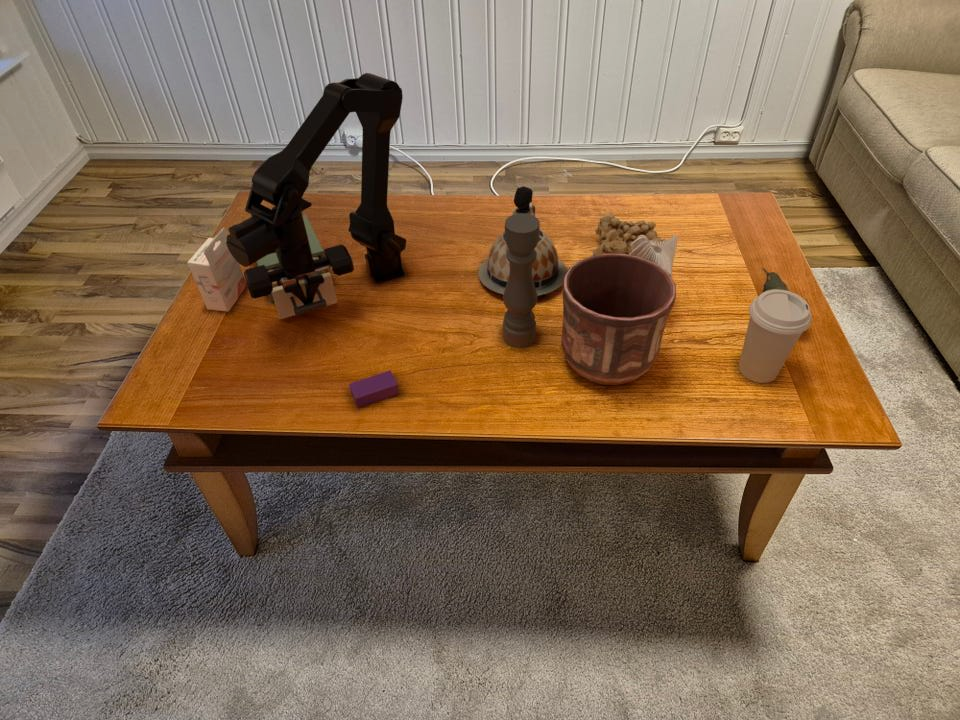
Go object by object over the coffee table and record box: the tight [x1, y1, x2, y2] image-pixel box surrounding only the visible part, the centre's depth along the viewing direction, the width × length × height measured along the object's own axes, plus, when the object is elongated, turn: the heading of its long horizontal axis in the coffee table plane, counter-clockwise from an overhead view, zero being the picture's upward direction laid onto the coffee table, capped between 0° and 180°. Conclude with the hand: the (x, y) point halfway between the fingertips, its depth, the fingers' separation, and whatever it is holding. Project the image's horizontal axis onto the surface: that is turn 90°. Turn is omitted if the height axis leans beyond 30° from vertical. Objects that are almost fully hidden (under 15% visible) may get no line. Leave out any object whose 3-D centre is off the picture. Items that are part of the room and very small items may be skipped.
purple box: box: [348, 369, 400, 409], centre depth 113 cm, size 8×4×2 cm, turn 115°
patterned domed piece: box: [477, 185, 568, 299], centre depth 130 cm, size 18×18×20 cm
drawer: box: [266, 256, 338, 320], centre depth 129 cm, size 18×11×7 cm, turn 25°
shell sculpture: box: [629, 234, 679, 279], centre depth 122 cm, size 8×8×18 cm
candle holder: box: [502, 213, 541, 349], centre depth 115 cm, size 6×6×25 cm
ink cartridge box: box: [186, 227, 248, 313], centre depth 128 cm, size 9×5×15 cm, turn 168°
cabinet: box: [255, 214, 329, 303], centre depth 136 cm, size 15×13×9 cm
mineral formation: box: [592, 213, 667, 259], centre depth 138 cm, size 8×13×15 cm
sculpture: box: [761, 267, 790, 293], centre depth 126 cm, size 5×19×5 cm, turn 3°
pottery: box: [560, 254, 677, 386], centre depth 112 cm, size 18×18×18 cm
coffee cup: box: [738, 289, 812, 384], centre depth 111 cm, size 10×10×15 cm
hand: (308, 306), depth 125 cm, fingers closed, pressing on drawer
